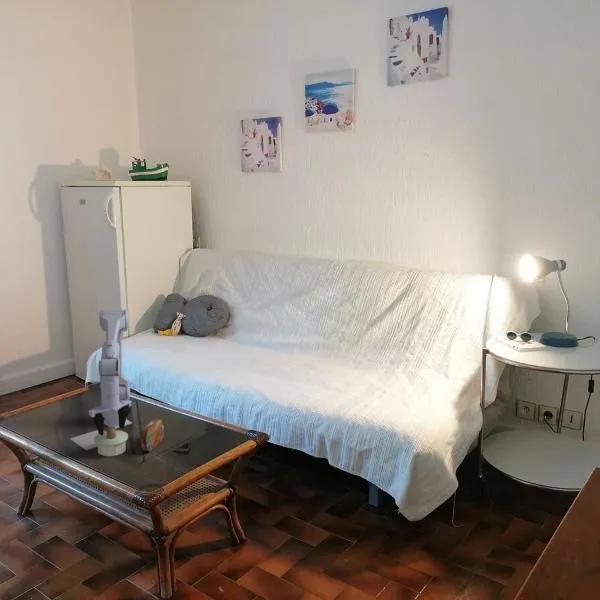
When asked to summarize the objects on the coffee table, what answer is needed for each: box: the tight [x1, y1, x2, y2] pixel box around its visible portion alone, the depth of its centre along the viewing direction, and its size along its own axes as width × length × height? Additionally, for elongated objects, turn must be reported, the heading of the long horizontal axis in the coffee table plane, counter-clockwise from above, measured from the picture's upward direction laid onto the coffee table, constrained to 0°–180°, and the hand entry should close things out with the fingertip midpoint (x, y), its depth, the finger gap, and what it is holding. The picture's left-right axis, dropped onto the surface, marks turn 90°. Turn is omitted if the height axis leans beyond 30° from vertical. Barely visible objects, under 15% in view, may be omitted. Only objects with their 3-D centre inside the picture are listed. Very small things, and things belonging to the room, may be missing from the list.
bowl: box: [97, 441, 127, 457], centre depth 201 cm, size 9×9×4 cm
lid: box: [94, 426, 129, 446], centre depth 201 cm, size 11×11×4 cm
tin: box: [139, 418, 166, 452], centre depth 206 cm, size 15×3×8 cm, turn 168°
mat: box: [69, 429, 106, 451], centre depth 209 cm, size 12×12×1 cm
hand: (111, 430), depth 200 cm, fingers open, 7 cm apart
